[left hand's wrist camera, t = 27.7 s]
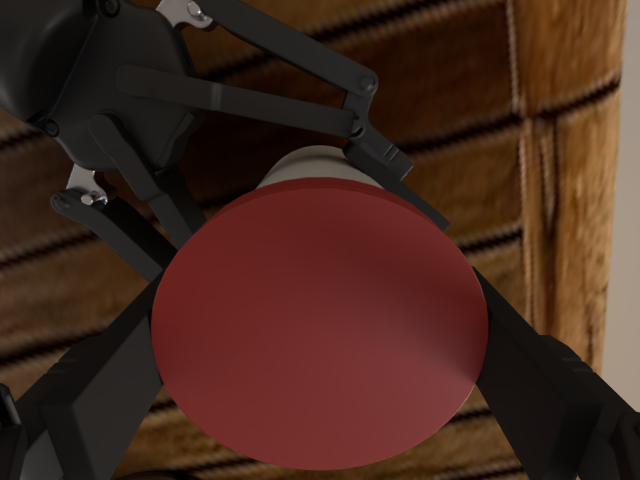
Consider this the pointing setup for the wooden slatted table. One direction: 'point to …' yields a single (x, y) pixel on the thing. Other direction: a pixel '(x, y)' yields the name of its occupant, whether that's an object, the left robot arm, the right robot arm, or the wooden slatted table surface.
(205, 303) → the lid
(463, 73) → the wooden slatted table surface
